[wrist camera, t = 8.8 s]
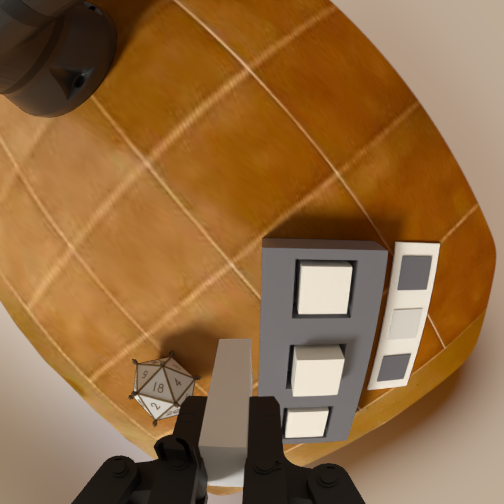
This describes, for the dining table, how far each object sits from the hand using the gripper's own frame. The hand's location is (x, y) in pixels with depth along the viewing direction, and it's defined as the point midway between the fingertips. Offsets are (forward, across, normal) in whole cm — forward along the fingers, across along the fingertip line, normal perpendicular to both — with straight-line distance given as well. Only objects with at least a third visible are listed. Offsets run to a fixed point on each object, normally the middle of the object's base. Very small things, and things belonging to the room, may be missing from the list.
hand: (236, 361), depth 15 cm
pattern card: (+18, +19, -9) cm, 27 cm away
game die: (+18, -10, -15) cm, 26 cm away
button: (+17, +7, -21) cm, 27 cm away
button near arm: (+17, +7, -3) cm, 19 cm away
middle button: (+15, +7, -12) cm, 20 cm away
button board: (+18, +7, -12) cm, 23 cm away
